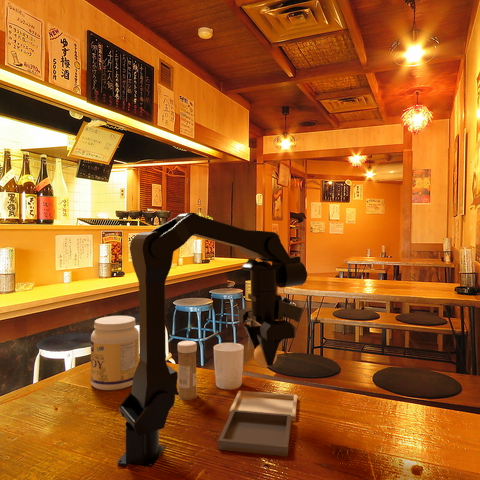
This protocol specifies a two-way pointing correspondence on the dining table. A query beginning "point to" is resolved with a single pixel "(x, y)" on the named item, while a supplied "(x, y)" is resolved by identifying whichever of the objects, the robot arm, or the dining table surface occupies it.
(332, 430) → the dining table surface
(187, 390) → the sprinkles bottle
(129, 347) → the supplement tub
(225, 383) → the white cup
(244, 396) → the tray
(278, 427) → the dish
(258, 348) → the ball
